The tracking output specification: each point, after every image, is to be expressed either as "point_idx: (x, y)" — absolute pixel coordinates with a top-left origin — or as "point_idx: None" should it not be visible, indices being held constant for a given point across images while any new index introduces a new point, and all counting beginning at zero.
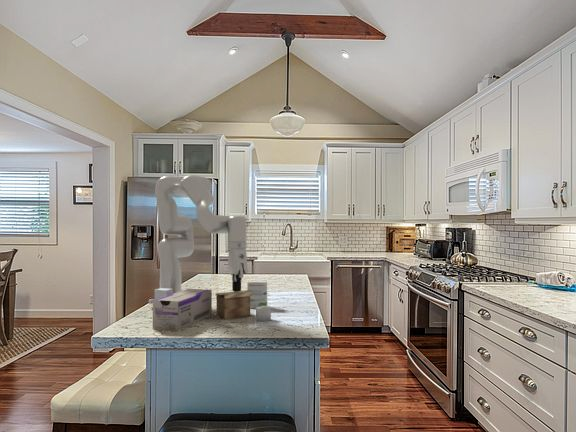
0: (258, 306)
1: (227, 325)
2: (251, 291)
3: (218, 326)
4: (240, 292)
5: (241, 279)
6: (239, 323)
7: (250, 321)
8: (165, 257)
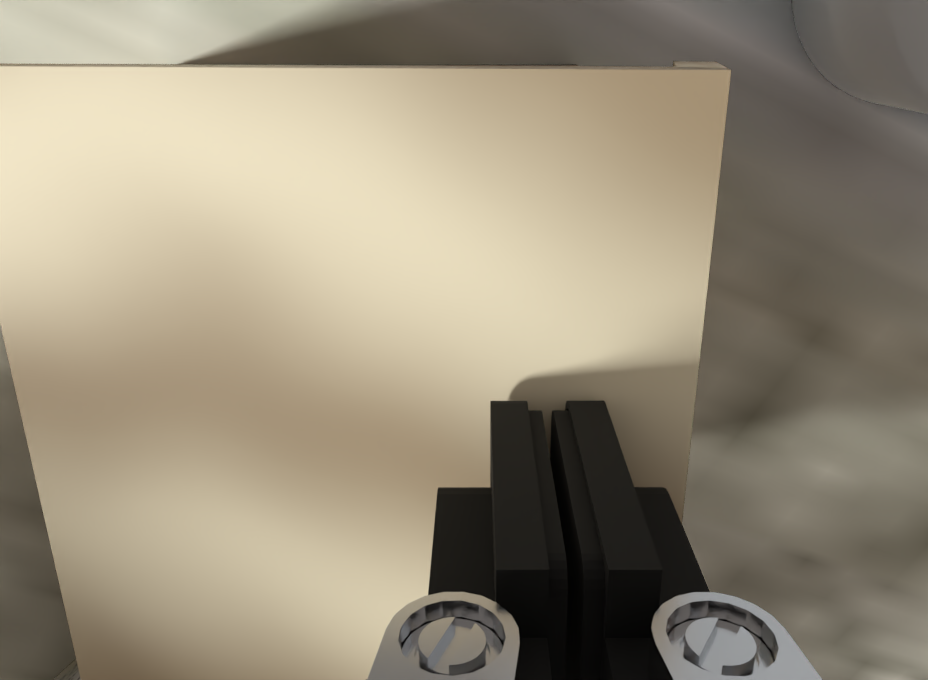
0: (916, 15)
1: (847, 528)
2: (724, 87)
3: (819, 619)
4: (685, 432)
5: (805, 663)
6: (861, 376)
7: (868, 203)
8: None
